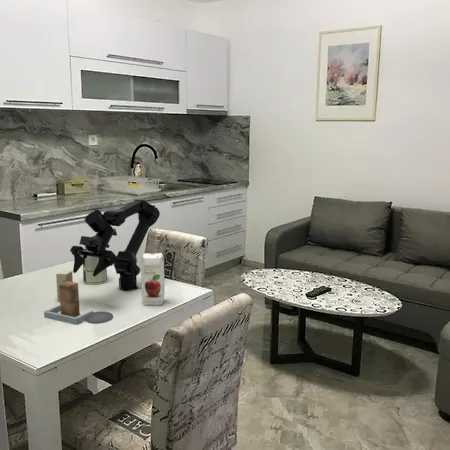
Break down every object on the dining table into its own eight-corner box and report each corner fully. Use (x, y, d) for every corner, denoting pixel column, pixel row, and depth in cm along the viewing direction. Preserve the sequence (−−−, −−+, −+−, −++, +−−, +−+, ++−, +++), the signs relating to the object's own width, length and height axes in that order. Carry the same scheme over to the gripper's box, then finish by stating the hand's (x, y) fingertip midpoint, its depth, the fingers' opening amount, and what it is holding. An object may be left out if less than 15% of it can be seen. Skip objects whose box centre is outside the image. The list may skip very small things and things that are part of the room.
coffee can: (78, 281, 211) (76, 250, 208) (97, 276, 219) (95, 245, 217) (93, 286, 205) (92, 254, 203) (112, 280, 214) (111, 249, 211)
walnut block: (70, 312, 177) (68, 281, 174) (79, 314, 175) (78, 283, 172) (61, 316, 173) (59, 284, 170) (70, 319, 171) (68, 286, 168)
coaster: (107, 310, 179) (107, 309, 179) (117, 319, 171) (117, 318, 171) (80, 315, 174) (80, 314, 174) (89, 325, 166) (88, 324, 165)
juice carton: (143, 299, 191) (141, 252, 187) (165, 298, 192) (164, 252, 188) (141, 306, 184) (140, 257, 180) (164, 305, 184) (163, 257, 181)
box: (67, 301, 187) (65, 274, 185) (57, 301, 188) (55, 273, 186) (74, 297, 192) (72, 270, 190) (64, 296, 193) (62, 269, 191)
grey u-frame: (61, 309, 180) (61, 303, 180) (93, 316, 174) (93, 310, 173) (44, 316, 173) (43, 311, 172) (76, 324, 166) (76, 319, 166)
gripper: (71, 224, 183) (51, 259, 176) (111, 229, 175) (92, 266, 168) (87, 240, 192) (68, 274, 184) (125, 246, 184) (108, 282, 176)
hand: (83, 274), depth 178 cm, fingers open, 9 cm apart
